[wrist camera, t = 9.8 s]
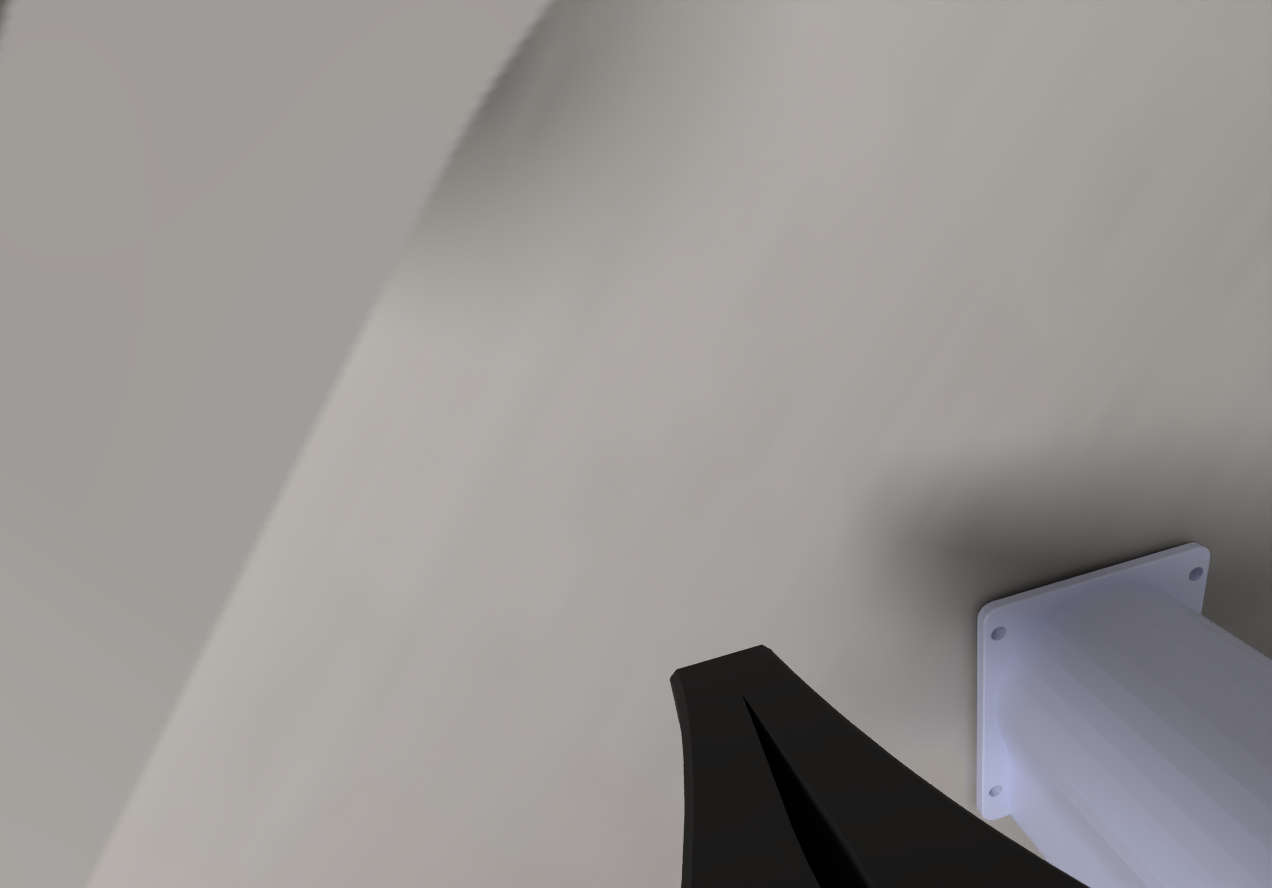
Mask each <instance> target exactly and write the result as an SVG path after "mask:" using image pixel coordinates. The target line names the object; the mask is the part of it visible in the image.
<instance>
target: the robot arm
mask: <svg viewBox="0 0 1272 888" xmlns="http://www.w3.org/2000/svg"><path fill="white" fill-rule="evenodd" d="M1209 562H1210V551H1209V550H1208V548H1206V547H1204V546H1202V545H1201V544H1198V543H1196V542H1193V543H1188V544H1184V545H1181V546H1178V547H1174V548H1171V549H1168V550H1164V551H1161V552H1157V553H1154V554H1151V555H1147V556H1144V557H1141V558H1137V559H1134V560H1130V561H1127V562H1124V563H1120V564H1117V565H1114V566H1110V567H1107V568H1103V569H1100V570H1097V571H1093V572H1090V573H1087V574H1083V575H1080V576H1076V577H1073V578H1070V579H1066V580H1063V581H1060V582H1056V583H1053V584H1049V585H1046V586H1043V587H1039V588H1036V589H1032V590H1029V591H1026V592H1022V593H1019V594H1016V595H1012V596H1009V597H1005V598H1002V599H999V600H995V601H992V602H990V603H988V604H986V605H985V606H983V607H982V608H981V610H980V612H979V614H978V618H977V810H978V811H979V813H980V814H981V815H982V817H983V818H985V819H987V820H995V819H998V818H1001V817H1004V816H1007V815H1011V816H1012V817H1013V819H1014V820H1015V821H1016V822H1017V824H1018V825H1019V826H1020V827H1021V829H1022V830H1023V831H1024V832H1025V834H1026V835H1027V836H1028V838H1029V839H1030V840H1031V841H1032V843H1033V844H1034V845H1035V846H1036V848H1037V849H1038V850H1039V851H1040V853H1041V854H1042V855H1043V856H1044V858H1045V859H1046V860H1047V861H1048V862H1046V861H1045V860H1043V859H1041V858H1040V857H1038V856H1037V855H1035V854H1033V853H1032V852H1030V851H1029V850H1027V849H1026V848H1024V847H1022V846H1021V845H1019V844H1018V843H1016V842H1015V841H1013V840H1011V839H1010V838H1008V837H1007V836H1005V835H1003V834H1002V833H1000V832H999V831H997V830H996V829H994V828H993V827H991V826H990V825H988V824H987V823H985V822H984V821H982V820H981V819H979V818H978V817H976V816H975V815H973V814H972V813H970V812H969V811H967V810H966V809H965V808H963V807H962V806H960V805H959V804H957V803H956V802H954V801H953V800H952V799H950V798H949V797H947V796H946V795H945V794H943V793H942V792H940V791H939V790H938V789H936V788H935V787H934V786H932V785H931V784H929V783H928V782H927V781H925V780H924V779H922V778H921V777H920V776H918V775H917V774H916V773H914V772H913V771H912V770H910V769H909V768H908V767H906V766H905V765H904V764H902V763H901V762H900V761H899V760H897V759H896V758H895V757H893V756H892V755H891V754H889V753H888V752H887V751H886V750H884V749H883V748H882V747H881V746H879V745H878V744H877V743H876V742H874V741H873V740H872V739H871V738H870V737H868V736H867V735H866V734H865V733H863V732H862V731H861V730H860V729H858V728H857V727H856V726H855V725H853V724H852V723H851V722H850V721H849V720H847V719H846V718H845V717H844V716H843V715H841V714H840V713H839V712H838V711H837V710H836V709H834V708H833V707H832V706H831V705H830V704H829V703H828V702H826V701H825V700H824V699H823V698H822V697H821V696H820V695H818V694H817V693H816V692H815V691H814V690H813V689H812V688H811V687H809V686H808V685H807V684H806V683H805V682H804V681H803V680H802V679H801V678H800V677H799V676H798V675H796V674H795V673H794V672H793V671H792V670H791V669H790V668H789V667H788V666H787V665H786V664H785V663H784V662H783V661H782V660H781V659H780V658H779V657H778V656H777V655H776V654H775V653H774V652H773V651H772V650H771V649H769V648H767V647H766V646H764V645H759V646H755V647H752V648H749V649H745V650H742V651H738V652H735V653H731V654H728V655H725V656H721V657H718V658H714V659H711V660H708V661H704V662H701V663H697V664H694V665H690V666H687V667H684V668H680V669H677V670H676V671H675V672H674V674H673V675H672V676H671V678H670V682H671V687H672V691H673V696H674V700H675V705H676V710H677V714H678V719H679V723H680V728H681V733H682V744H683V758H684V799H685V815H684V841H683V864H682V884H681V888H1272V660H1271V659H1269V658H1268V657H1266V656H1265V655H1263V654H1262V653H1260V652H1259V651H1257V650H1255V649H1254V648H1252V647H1251V646H1249V645H1248V644H1246V643H1245V642H1243V641H1241V640H1240V639H1238V638H1237V637H1235V636H1234V635H1232V634H1231V633H1229V632H1227V631H1226V630H1224V629H1223V628H1221V627H1220V626H1218V625H1217V624H1215V623H1213V622H1212V621H1210V620H1209V619H1207V618H1206V617H1204V616H1203V615H1201V613H1202V607H1203V600H1204V594H1205V588H1206V581H1207V575H1208V569H1209ZM995 629H996V630H995ZM994 630H995V631H994Z"/></svg>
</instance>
